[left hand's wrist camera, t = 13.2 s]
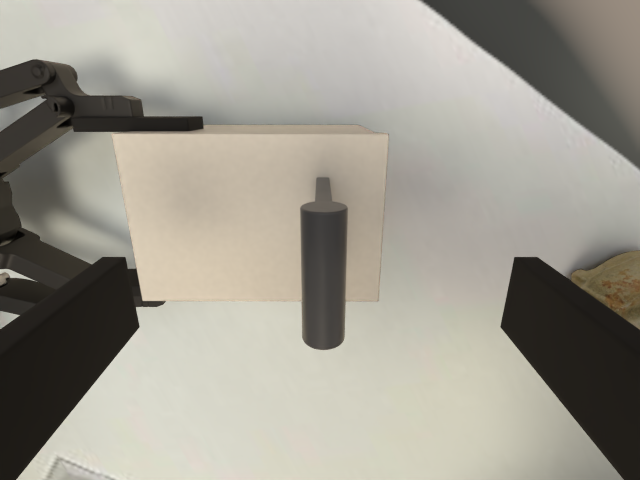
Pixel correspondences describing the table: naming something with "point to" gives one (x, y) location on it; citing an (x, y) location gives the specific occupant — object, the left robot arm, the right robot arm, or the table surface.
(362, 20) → the table surface
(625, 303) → the sculpture
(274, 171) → the lid
